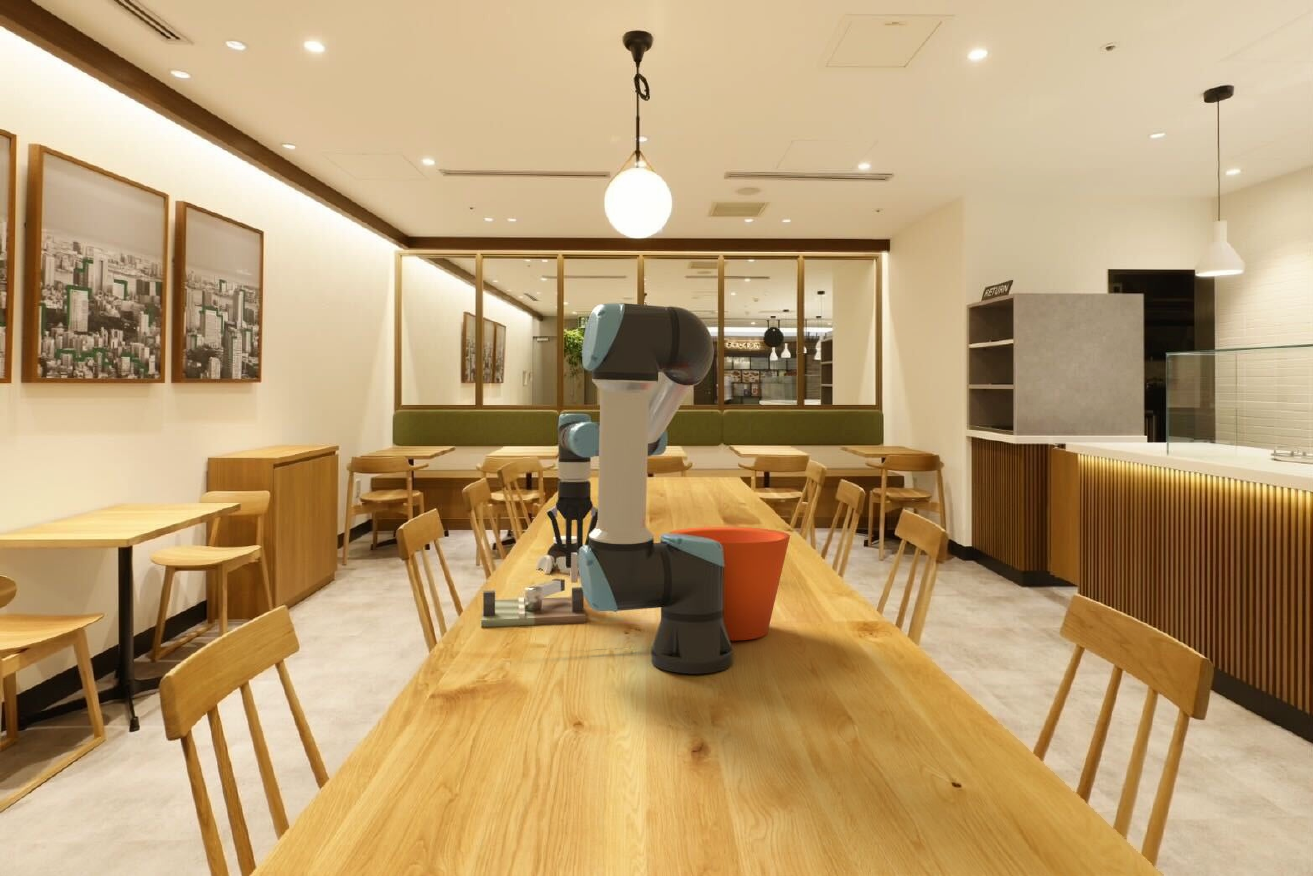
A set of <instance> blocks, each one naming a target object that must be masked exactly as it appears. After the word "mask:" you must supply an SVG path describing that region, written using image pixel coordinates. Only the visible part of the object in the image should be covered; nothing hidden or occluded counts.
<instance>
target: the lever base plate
mask: <svg viewBox="0 0 1313 876" xmlns="http://www.w3.org/2000/svg"><path fill="white" fill-rule="evenodd" d="M482 594H483V599H482V600H483V601H482V603H483V606H482V607H483V608H482V614H481V619H480V623H481V624H480V626H481V628H491V627H492V628H493V627H494V628H496V627H511V626H512V627H516V626H537V625H538V626H539V625H540V626H541V625H556V624H557V625H558V624H559V625H560V624H580V623H581V624H582V623H587V613H586V611H585V608H584V599H585V597H584V593H583V590H582V586H581V587H579V586H577V587H575V586H574V587H571V596H565V597H543V598H542V609H541V610H536V611H529V610H526V609H525V596H524V595H525V594H518V598H516V599H515V598H514V599H513V598H512V599H509V598H508V599H496V590H495V589H494V590H483V593H482Z"/></svg>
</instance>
